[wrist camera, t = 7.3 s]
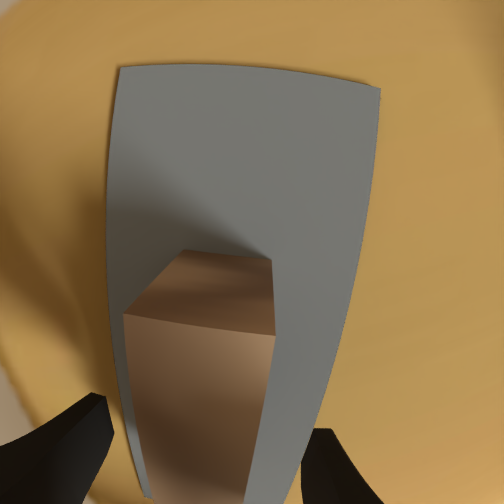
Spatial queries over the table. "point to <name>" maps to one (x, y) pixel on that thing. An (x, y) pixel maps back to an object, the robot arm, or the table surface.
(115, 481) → the table surface
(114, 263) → the charcoal mat
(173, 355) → the walnut block
